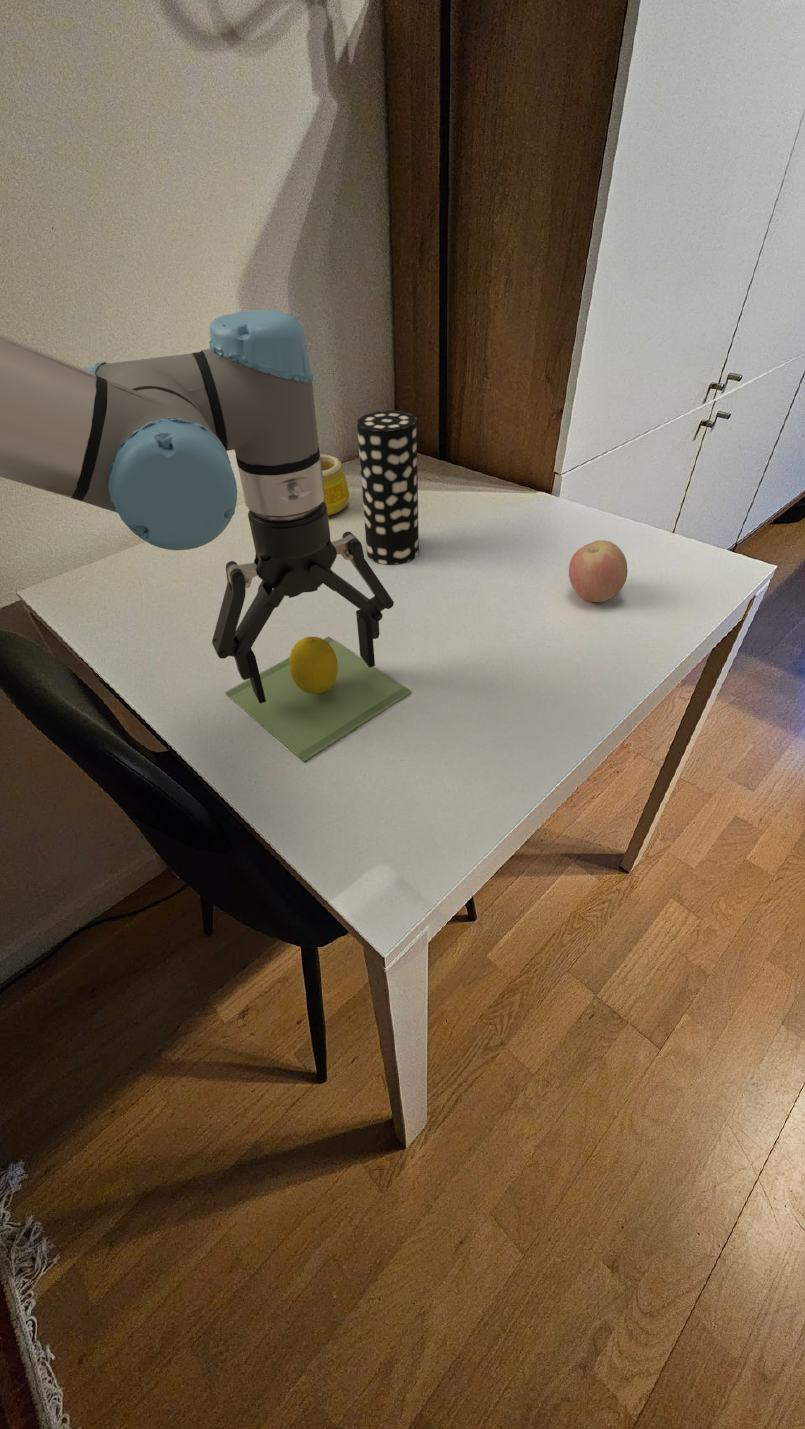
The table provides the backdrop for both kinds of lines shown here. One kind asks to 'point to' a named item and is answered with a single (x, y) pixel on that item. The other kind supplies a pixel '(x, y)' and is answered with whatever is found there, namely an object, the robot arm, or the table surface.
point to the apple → (598, 571)
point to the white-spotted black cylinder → (389, 485)
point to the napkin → (319, 703)
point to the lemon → (313, 665)
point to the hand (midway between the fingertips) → (315, 678)
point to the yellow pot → (334, 484)
